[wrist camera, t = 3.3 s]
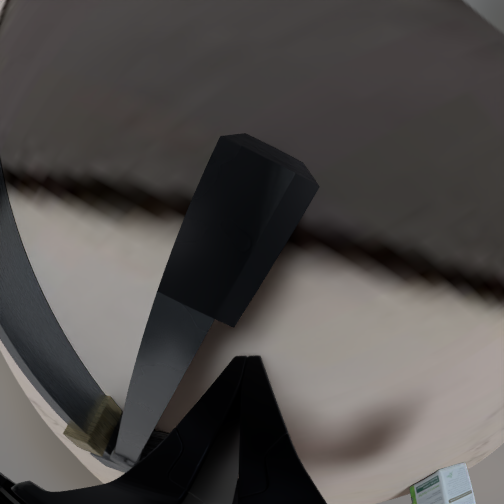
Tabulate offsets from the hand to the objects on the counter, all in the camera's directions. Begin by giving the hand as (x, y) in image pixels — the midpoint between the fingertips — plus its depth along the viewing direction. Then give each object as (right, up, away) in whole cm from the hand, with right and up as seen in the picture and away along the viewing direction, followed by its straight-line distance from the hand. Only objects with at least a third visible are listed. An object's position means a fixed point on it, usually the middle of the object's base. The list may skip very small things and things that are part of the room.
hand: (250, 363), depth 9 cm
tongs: (-9, -1, +2) cm, 9 cm away
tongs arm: (-3, -1, +1) cm, 4 cm away
